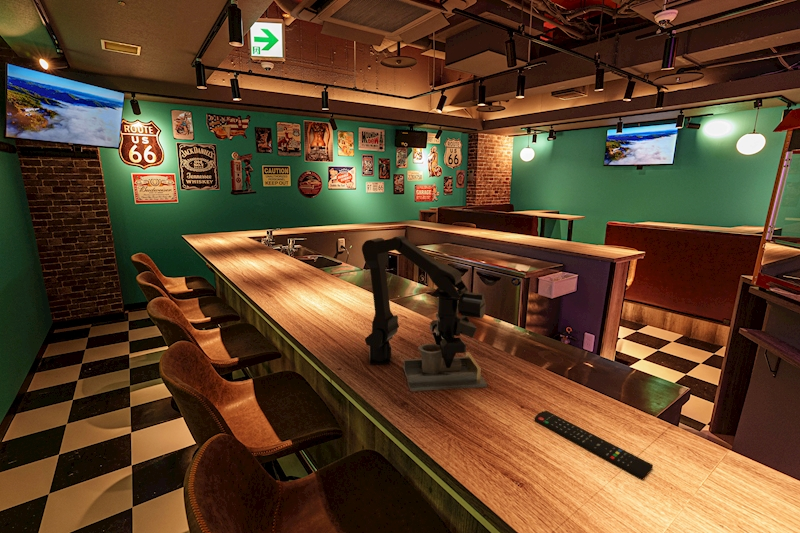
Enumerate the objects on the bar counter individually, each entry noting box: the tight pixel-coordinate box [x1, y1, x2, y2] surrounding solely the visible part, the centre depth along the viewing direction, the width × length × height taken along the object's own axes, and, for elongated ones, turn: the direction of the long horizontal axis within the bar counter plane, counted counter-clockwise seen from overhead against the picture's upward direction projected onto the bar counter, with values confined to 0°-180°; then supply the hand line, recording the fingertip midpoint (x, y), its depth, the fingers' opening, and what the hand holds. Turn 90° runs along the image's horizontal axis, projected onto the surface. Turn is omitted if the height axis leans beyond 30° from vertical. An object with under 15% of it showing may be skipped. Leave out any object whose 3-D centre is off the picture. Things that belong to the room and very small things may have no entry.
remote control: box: [534, 410, 654, 480], centre depth 83 cm, size 5×24×1 cm, turn 38°
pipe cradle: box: [402, 351, 488, 392], centre depth 111 cm, size 22×14×5 cm, turn 97°
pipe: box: [417, 343, 461, 374], centre depth 111 cm, size 6×13×8 cm, turn 91°
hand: (445, 362), depth 110 cm, fingers open, 6 cm apart
